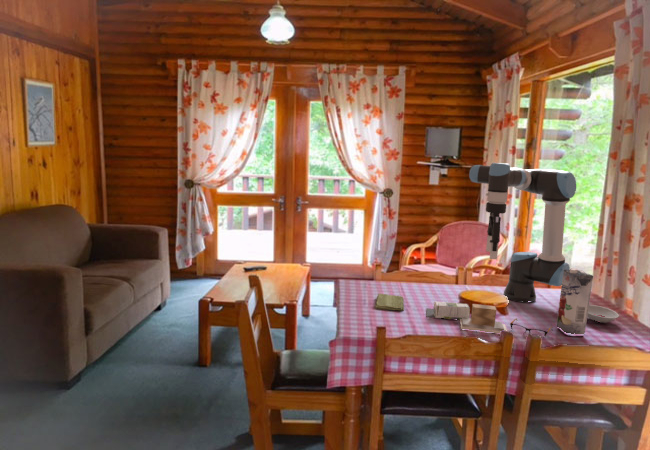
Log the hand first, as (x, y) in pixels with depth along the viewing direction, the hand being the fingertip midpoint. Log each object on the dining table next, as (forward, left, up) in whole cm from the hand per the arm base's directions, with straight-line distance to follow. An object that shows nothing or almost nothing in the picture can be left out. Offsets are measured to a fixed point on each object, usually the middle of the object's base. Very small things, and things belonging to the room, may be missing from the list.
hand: (491, 255), depth 205 cm
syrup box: (+6, -9, -28) cm, 30 cm away
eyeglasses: (-19, -4, -32) cm, 37 cm away
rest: (0, 0, -31) cm, 31 cm away
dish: (-51, -26, -31) cm, 65 cm away
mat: (+15, -12, -31) cm, 36 cm away
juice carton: (-35, -7, -31) cm, 47 cm away
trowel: (+1, 0, -30) cm, 30 cm away
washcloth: (+40, -17, -32) cm, 54 cm away
